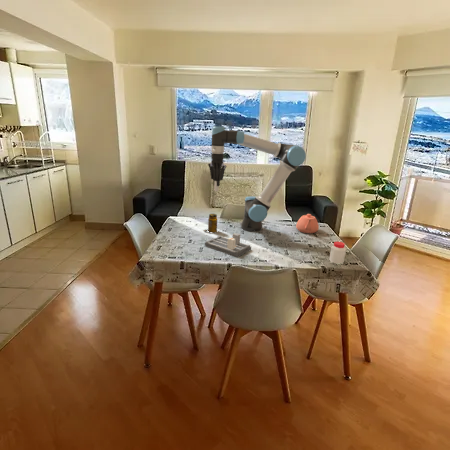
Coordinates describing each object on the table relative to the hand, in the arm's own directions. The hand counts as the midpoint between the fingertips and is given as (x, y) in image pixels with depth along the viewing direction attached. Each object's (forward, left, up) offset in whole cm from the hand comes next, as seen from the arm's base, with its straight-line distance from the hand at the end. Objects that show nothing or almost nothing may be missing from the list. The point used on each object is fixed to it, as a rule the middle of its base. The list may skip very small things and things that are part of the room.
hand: (216, 190), depth 190 cm
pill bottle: (-44, +64, -30) cm, 83 cm away
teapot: (-64, +18, -30) cm, 73 cm away
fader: (+4, +30, -27) cm, 41 cm away
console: (+3, +24, -29) cm, 38 cm away
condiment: (0, -6, -30) cm, 30 cm away
